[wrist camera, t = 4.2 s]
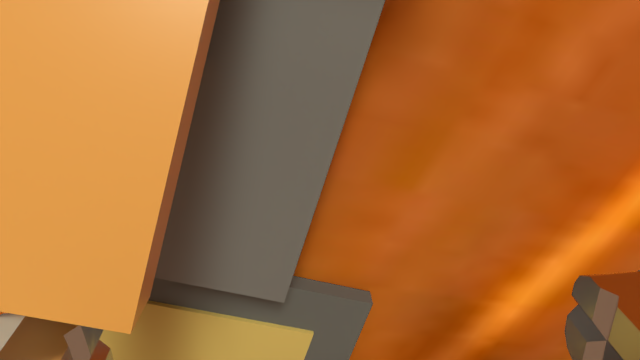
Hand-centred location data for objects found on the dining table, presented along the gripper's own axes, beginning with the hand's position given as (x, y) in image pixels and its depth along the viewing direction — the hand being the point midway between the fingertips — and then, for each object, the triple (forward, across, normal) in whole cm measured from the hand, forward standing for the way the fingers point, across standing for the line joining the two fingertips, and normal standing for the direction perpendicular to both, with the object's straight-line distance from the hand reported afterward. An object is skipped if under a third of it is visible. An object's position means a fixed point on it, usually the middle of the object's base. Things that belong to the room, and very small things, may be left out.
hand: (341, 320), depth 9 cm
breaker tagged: (+1, +3, -5) cm, 6 cm away
